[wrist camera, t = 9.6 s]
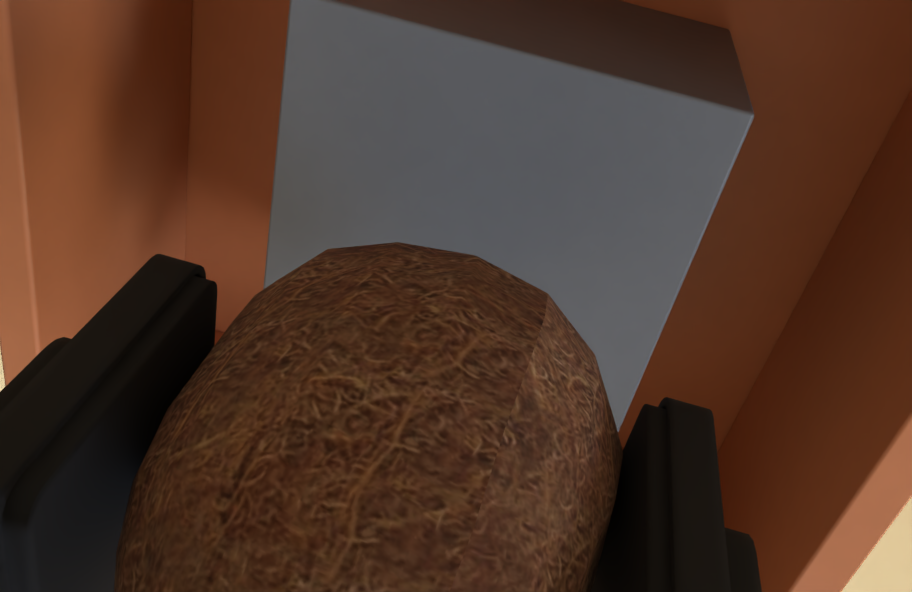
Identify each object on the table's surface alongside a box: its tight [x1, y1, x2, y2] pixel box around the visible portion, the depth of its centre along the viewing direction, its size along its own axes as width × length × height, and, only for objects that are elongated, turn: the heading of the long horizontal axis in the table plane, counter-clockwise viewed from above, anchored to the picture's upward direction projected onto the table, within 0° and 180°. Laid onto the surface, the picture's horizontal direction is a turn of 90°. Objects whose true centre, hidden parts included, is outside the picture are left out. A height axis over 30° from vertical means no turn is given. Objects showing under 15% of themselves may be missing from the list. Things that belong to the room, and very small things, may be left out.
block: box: [263, 0, 754, 432], centre depth 16 cm, size 7×7×4 cm
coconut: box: [114, 242, 623, 592], centre depth 10 cm, size 5×5×8 cm
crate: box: [0, 0, 912, 592], centre depth 16 cm, size 16×16×7 cm
